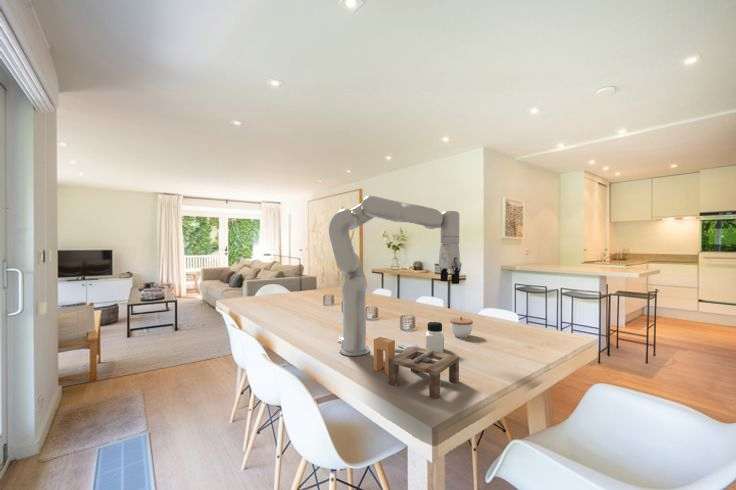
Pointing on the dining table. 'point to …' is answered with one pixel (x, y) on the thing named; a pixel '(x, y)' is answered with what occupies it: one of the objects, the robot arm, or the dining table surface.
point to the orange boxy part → (379, 346)
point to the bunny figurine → (409, 348)
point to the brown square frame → (425, 367)
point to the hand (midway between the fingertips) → (449, 282)
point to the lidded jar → (461, 327)
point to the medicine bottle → (435, 337)
